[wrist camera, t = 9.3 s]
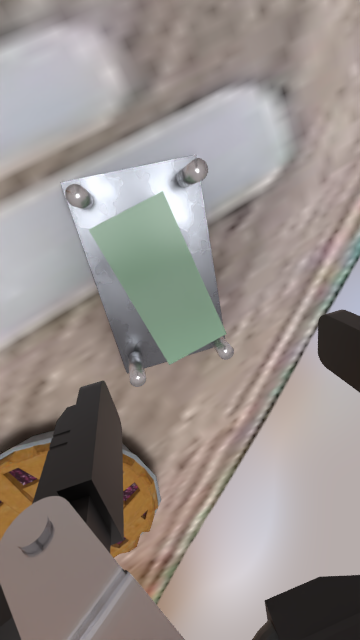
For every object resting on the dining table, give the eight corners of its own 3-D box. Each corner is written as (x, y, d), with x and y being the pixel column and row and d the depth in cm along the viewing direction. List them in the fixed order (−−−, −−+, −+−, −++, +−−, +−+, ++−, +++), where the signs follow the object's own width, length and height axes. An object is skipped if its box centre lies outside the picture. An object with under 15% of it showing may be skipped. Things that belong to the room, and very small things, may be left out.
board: (94, 227, 22) (88, 229, 17) (153, 196, 22) (162, 190, 17) (160, 339, 26) (169, 364, 22) (208, 314, 27) (226, 333, 22)
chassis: (62, 183, 21) (47, 174, 16) (193, 156, 22) (212, 141, 18) (126, 369, 28) (128, 397, 23) (223, 340, 29) (241, 362, 25)
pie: (188, 474, 36) (198, 511, 31) (71, 565, 37) (64, 613, 33) (63, 381, 27) (51, 414, 22) (-84, 506, 28) (-123, 561, 24)
